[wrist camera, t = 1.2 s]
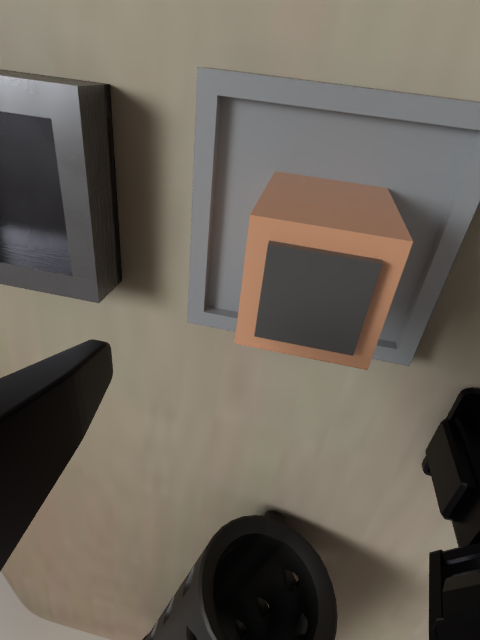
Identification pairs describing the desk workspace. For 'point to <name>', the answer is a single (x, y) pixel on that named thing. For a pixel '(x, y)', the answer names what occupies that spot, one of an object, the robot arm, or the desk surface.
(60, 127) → the socket
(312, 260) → the plug
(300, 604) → the muzzle brake
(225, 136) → the tray
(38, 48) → the desk surface
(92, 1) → the desk surface
